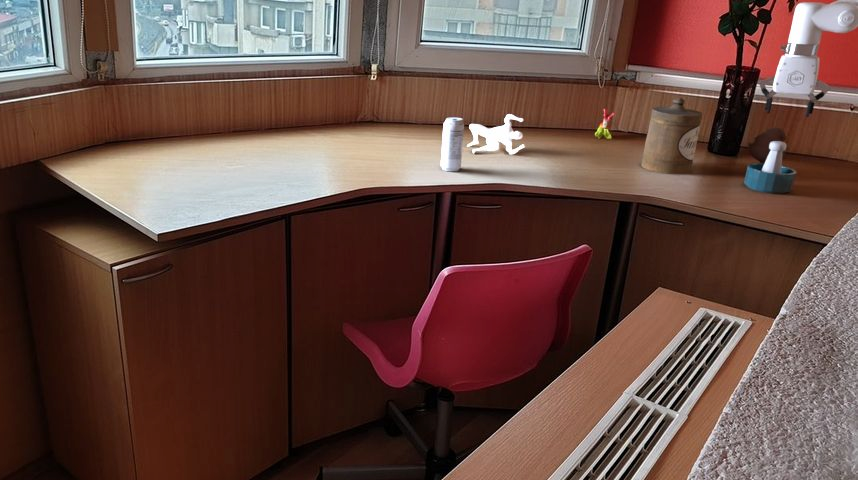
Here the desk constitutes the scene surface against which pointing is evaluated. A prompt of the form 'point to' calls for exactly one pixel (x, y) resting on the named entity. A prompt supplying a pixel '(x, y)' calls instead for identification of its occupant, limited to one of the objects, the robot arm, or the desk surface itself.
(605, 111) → the bird rattle
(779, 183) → the bowl
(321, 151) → the desk surface
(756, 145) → the brown rounded lumpy piece
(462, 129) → the energy drink can
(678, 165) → the wooden container
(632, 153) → the desk surface
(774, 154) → the salt shaker
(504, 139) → the person figurine
